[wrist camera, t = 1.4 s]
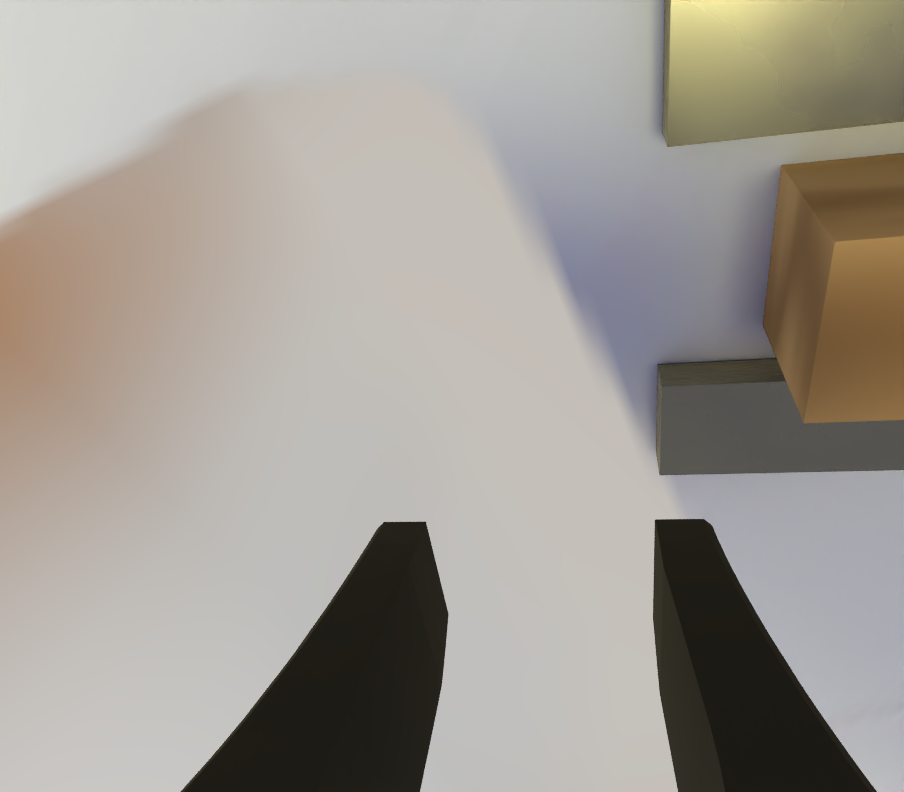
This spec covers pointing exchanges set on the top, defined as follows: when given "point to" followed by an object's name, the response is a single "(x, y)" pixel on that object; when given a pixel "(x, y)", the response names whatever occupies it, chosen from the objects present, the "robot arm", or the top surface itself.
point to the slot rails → (757, 115)
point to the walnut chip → (840, 288)
